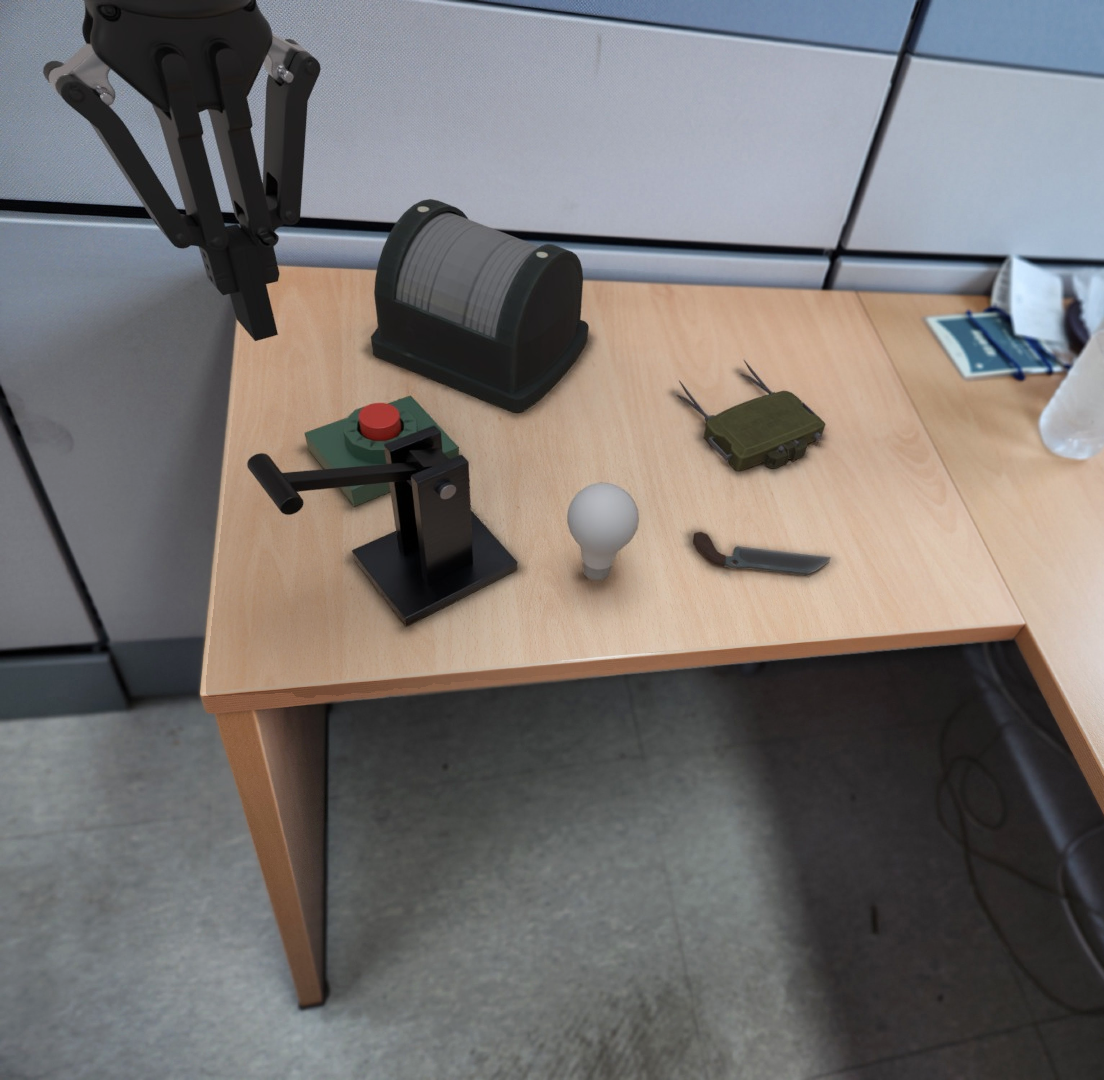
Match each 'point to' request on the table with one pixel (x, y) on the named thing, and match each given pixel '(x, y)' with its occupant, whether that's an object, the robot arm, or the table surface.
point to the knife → (759, 558)
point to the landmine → (761, 428)
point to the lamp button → (379, 422)
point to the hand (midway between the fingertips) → (257, 326)
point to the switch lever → (334, 476)
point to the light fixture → (477, 307)
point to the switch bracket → (431, 537)
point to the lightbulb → (602, 526)
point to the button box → (368, 445)
